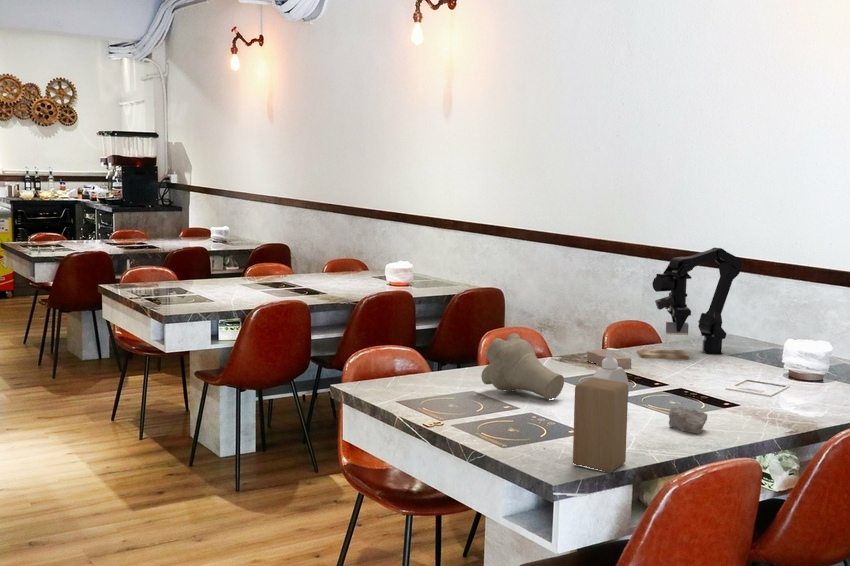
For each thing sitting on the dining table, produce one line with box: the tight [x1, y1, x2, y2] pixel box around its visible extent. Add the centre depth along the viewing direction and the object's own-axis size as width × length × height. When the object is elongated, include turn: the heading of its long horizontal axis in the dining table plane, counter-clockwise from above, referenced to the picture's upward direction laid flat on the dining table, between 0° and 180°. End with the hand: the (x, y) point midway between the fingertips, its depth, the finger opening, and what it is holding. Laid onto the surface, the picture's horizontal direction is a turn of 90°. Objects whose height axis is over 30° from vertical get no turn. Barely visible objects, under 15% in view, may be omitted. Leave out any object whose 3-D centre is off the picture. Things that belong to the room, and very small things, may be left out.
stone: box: [668, 406, 708, 435], centre depth 243 cm, size 10×8×6 cm
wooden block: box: [572, 377, 629, 473], centre depth 211 cm, size 10×10×20 cm
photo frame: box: [725, 378, 791, 398], centre depth 293 cm, size 15×1×18 cm
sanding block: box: [665, 321, 689, 336], centre depth 344 cm, size 8×5×4 cm, turn 78°
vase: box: [480, 332, 565, 401], centre depth 277 cm, size 22×22×28 cm
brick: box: [586, 348, 632, 370], centre depth 327 cm, size 17×8×5 cm, turn 28°
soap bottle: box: [591, 347, 630, 395], centre depth 255 cm, size 16×5×20 cm, turn 142°
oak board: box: [636, 348, 690, 360], centre depth 345 cm, size 18×11×1 cm, turn 86°
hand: (676, 330), depth 344 cm, fingers closed on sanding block, 5 cm apart
